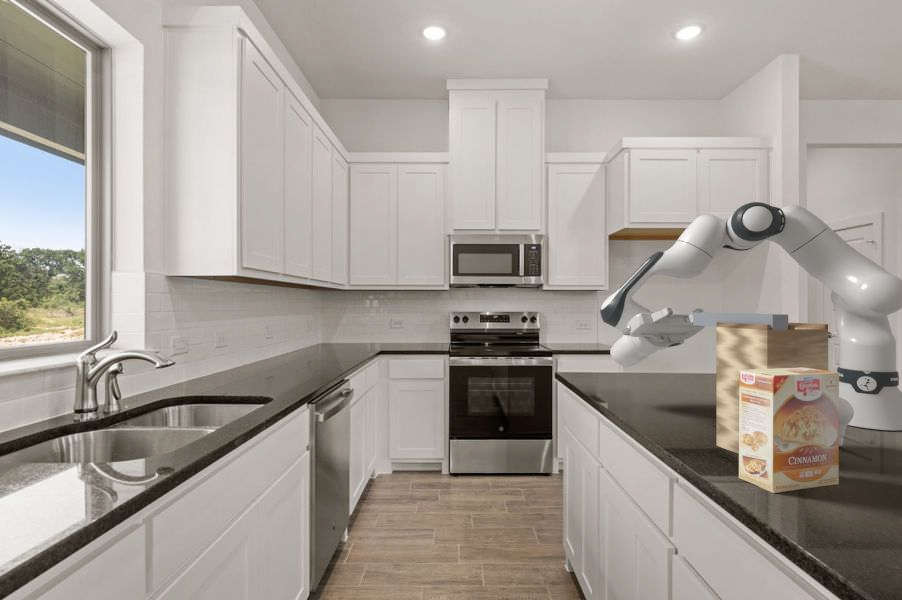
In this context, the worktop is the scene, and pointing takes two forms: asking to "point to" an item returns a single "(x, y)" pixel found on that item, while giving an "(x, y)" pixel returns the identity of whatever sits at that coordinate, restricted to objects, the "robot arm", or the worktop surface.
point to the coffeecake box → (789, 428)
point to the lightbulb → (844, 417)
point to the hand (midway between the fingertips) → (685, 310)
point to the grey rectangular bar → (742, 319)
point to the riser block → (759, 363)
